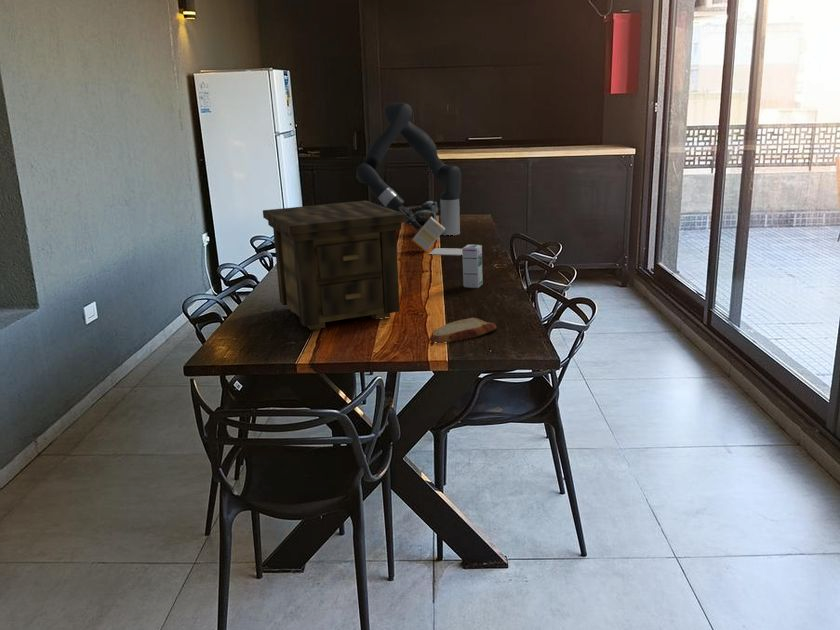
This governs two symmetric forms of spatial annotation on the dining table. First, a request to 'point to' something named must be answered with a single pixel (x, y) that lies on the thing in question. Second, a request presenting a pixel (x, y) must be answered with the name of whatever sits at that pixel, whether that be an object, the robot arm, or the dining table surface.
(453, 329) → the slice of bread
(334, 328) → the dining table surface
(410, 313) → the dining table surface
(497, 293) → the dining table surface
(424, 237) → the supplement box
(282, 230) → the wooden bedside nightstand
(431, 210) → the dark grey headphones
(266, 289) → the dining table surface
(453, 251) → the felt pad
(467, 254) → the syrup box
